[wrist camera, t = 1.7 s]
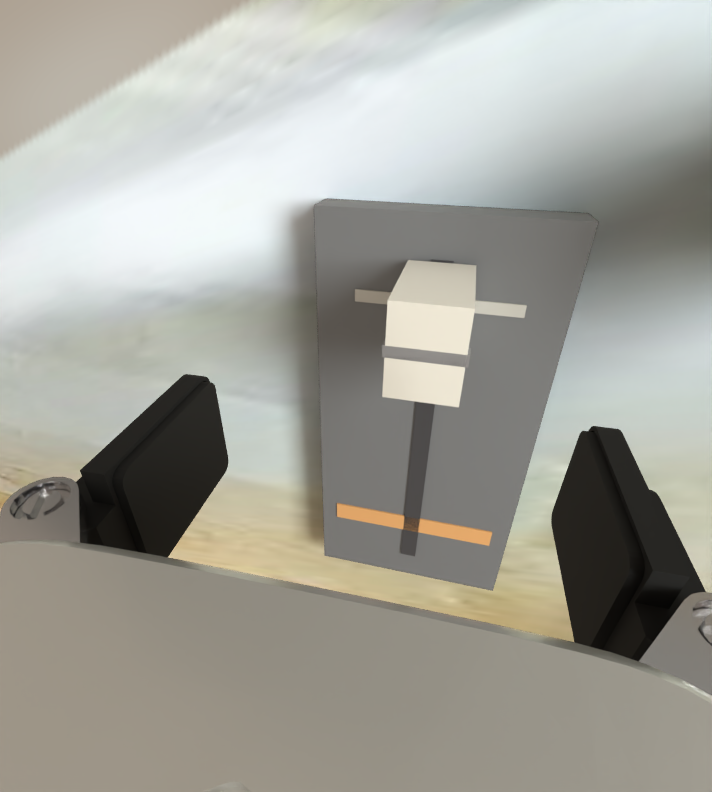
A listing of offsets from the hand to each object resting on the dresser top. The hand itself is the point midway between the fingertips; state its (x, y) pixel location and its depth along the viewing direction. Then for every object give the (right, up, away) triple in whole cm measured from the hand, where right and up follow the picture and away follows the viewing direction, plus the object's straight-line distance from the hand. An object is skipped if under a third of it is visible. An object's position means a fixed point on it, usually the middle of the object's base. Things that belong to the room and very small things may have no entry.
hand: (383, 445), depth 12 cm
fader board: (+3, 0, +16) cm, 16 cm away
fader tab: (+3, +5, +9) cm, 11 cm away
